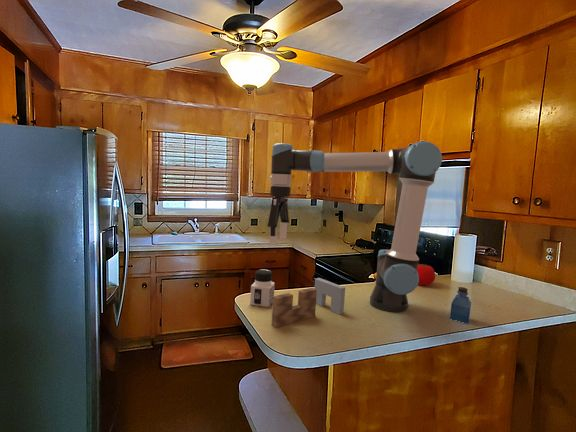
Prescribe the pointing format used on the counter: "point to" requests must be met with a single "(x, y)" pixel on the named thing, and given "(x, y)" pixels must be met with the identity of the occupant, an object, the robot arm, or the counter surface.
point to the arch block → (330, 295)
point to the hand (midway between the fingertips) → (278, 241)
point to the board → (293, 307)
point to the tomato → (425, 274)
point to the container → (262, 289)
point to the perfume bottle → (461, 306)
